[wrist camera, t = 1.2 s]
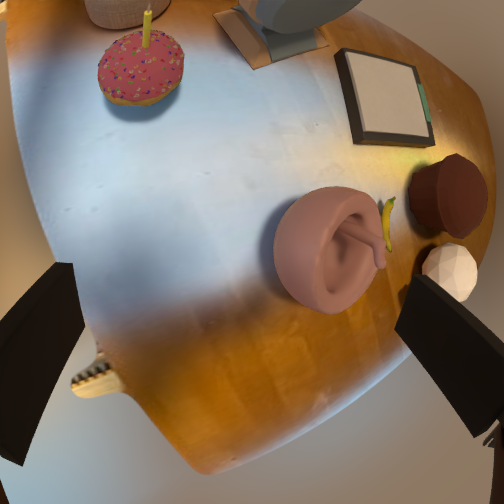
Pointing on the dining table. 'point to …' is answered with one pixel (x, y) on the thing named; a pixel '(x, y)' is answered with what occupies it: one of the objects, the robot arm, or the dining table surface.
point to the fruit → (387, 222)
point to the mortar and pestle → (329, 248)
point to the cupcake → (141, 67)
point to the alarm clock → (279, 27)
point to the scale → (384, 100)
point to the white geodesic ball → (452, 269)
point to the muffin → (449, 196)
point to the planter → (122, 12)
